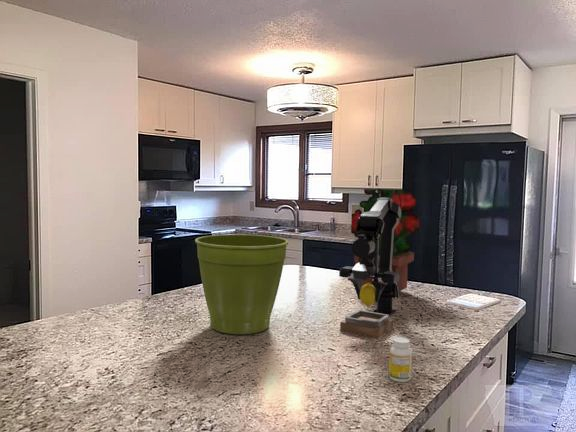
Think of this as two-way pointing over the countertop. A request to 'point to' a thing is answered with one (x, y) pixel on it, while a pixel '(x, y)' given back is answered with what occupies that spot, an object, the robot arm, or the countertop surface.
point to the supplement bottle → (400, 360)
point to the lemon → (367, 294)
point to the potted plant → (401, 232)
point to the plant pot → (240, 279)
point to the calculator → (473, 301)
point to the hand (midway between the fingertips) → (368, 300)
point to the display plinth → (367, 324)
